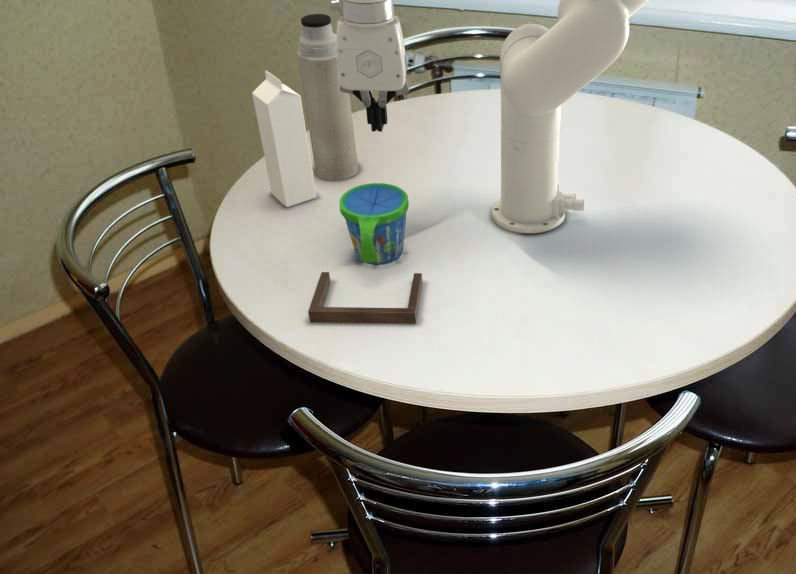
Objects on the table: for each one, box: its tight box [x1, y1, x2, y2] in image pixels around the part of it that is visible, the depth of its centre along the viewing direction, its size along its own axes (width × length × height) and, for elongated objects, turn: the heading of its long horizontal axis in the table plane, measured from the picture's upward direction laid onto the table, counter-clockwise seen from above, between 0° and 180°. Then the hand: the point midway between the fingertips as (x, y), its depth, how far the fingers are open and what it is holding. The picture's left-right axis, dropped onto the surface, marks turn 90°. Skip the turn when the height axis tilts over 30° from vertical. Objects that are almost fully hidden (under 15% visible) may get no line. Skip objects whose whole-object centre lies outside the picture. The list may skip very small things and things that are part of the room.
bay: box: [307, 271, 424, 325], centre depth 124 cm, size 15×10×2 cm, turn 89°
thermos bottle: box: [296, 13, 359, 181], centre depth 148 cm, size 8×8×28 cm
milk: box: [251, 69, 317, 208], centre depth 143 cm, size 6×6×22 cm
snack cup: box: [339, 182, 409, 267], centre depth 132 cm, size 16×10×10 cm
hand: (378, 127), depth 134 cm, fingers closed
